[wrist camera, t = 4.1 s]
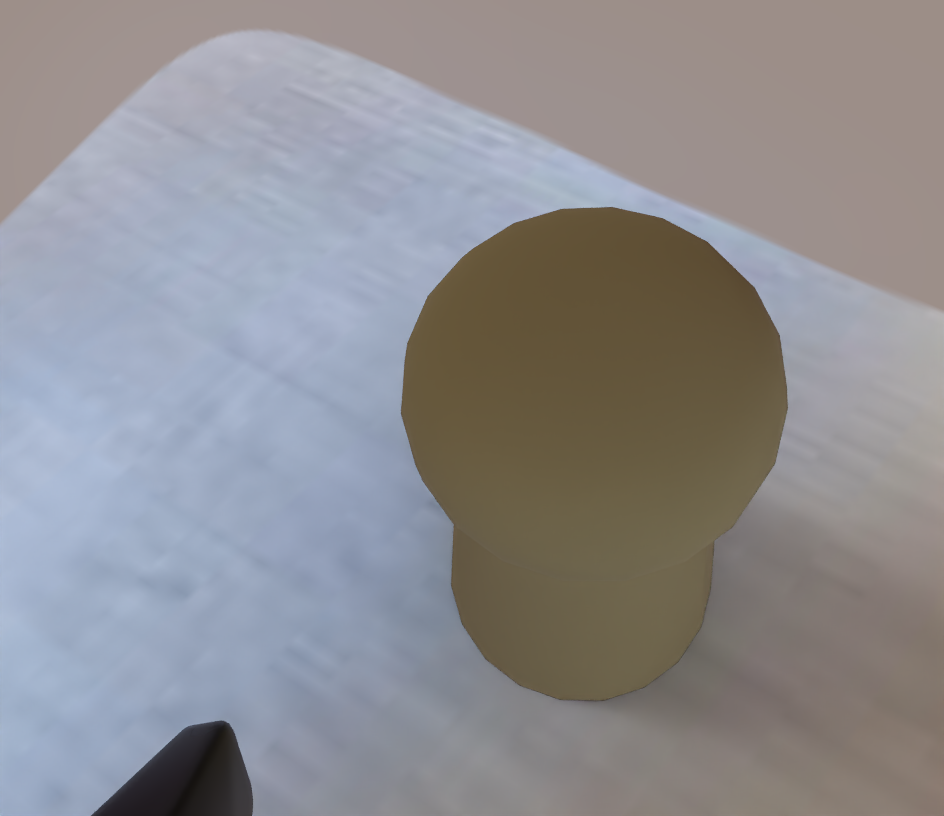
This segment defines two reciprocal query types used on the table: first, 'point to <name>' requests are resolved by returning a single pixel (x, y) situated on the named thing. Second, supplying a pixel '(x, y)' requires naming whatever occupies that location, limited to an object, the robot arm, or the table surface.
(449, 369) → the olive game pawn
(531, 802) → the table surface
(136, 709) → the table surface
